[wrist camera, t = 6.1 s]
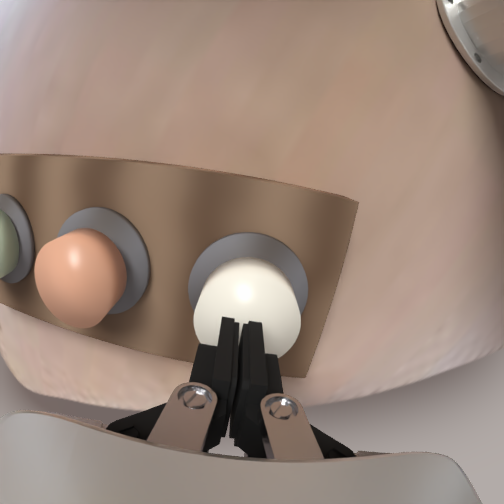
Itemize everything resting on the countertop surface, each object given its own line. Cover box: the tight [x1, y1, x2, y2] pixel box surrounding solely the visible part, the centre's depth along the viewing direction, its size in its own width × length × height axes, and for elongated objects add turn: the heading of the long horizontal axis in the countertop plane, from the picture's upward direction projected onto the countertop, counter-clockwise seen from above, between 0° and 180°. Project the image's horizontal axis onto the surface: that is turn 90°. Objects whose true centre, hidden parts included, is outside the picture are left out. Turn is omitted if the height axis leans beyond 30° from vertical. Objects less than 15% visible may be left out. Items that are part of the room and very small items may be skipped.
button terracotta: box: [34, 228, 127, 328], centre depth 13 cm, size 5×5×2 cm
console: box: [0, 154, 359, 378], centre depth 17 cm, size 28×12×4 cm, turn 80°
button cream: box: [194, 257, 301, 358], centre depth 14 cm, size 5×5×2 cm
